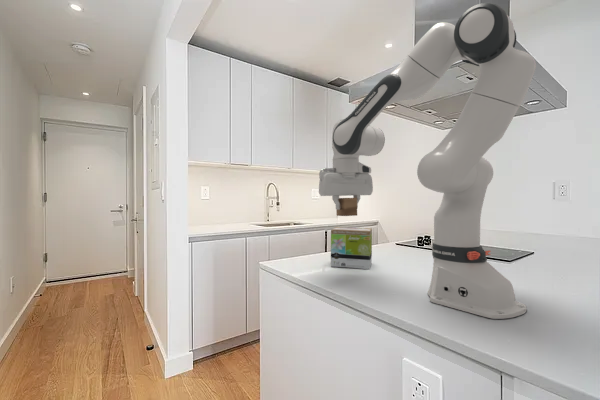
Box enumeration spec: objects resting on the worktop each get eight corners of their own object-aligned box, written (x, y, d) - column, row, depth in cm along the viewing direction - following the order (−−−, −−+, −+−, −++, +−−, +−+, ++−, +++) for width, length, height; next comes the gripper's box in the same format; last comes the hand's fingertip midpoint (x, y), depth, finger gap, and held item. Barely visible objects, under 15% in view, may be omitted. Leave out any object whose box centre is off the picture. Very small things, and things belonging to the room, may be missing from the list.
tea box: (330, 267, 119) (330, 229, 119) (335, 262, 129) (334, 226, 129) (370, 269, 115) (370, 229, 115) (372, 264, 125) (372, 227, 124)
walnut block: (357, 215, 105) (356, 197, 105) (345, 216, 102) (344, 197, 102) (348, 215, 109) (348, 197, 109) (336, 215, 107) (336, 198, 107)
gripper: (324, 166, 98) (325, 210, 98) (375, 168, 108) (376, 208, 108) (314, 168, 104) (315, 210, 104) (363, 170, 113) (364, 208, 113)
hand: (346, 209), depth 106 cm, fingers closed on walnut block, 5 cm apart
